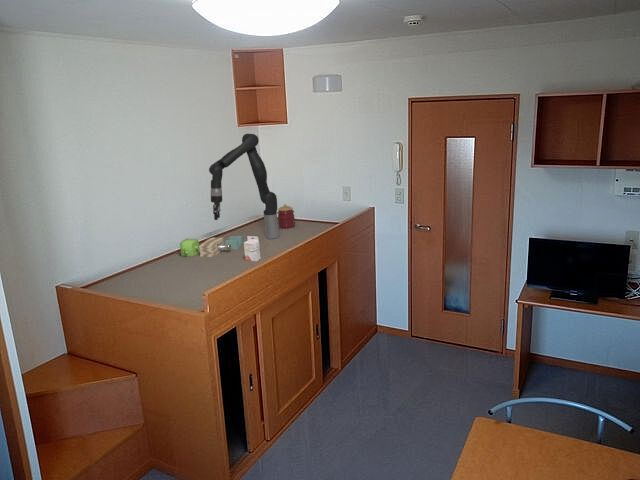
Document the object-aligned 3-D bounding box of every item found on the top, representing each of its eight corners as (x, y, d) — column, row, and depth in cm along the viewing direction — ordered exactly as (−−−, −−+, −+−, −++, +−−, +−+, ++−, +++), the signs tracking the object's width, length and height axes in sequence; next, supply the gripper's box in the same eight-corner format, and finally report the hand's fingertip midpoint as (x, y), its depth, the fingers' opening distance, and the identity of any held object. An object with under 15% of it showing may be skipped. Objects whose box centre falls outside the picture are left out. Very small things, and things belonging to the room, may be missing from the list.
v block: (243, 243, 373) (242, 236, 372) (237, 248, 361) (236, 241, 360) (232, 243, 375) (231, 236, 374) (225, 249, 363) (224, 241, 361)
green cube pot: (192, 259, 346) (190, 245, 344) (178, 258, 348) (176, 244, 345) (203, 250, 363) (202, 237, 360) (190, 250, 365) (188, 236, 362)
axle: (231, 248, 356) (230, 243, 355) (229, 251, 352) (228, 245, 351) (205, 249, 359) (204, 243, 358) (203, 251, 356) (202, 245, 354)
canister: (294, 228, 408) (292, 205, 404) (277, 229, 409) (275, 206, 404) (295, 224, 421) (294, 202, 416) (279, 225, 421) (277, 203, 417)
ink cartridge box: (245, 260, 333) (242, 237, 329) (249, 258, 337) (246, 235, 334) (256, 261, 329) (254, 238, 326) (261, 259, 334) (258, 236, 330)
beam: (224, 248, 365) (223, 237, 363) (213, 256, 346) (212, 245, 344) (211, 248, 367) (210, 237, 365) (200, 256, 348) (199, 245, 346)
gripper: (220, 196, 350) (221, 220, 354) (223, 193, 364) (224, 217, 368) (208, 196, 350) (209, 220, 353) (212, 193, 364) (213, 217, 367)
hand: (217, 218), depth 361 cm, fingers open, 8 cm apart
